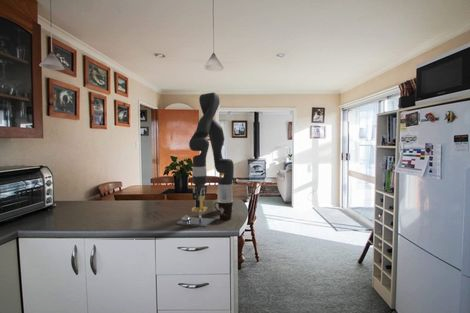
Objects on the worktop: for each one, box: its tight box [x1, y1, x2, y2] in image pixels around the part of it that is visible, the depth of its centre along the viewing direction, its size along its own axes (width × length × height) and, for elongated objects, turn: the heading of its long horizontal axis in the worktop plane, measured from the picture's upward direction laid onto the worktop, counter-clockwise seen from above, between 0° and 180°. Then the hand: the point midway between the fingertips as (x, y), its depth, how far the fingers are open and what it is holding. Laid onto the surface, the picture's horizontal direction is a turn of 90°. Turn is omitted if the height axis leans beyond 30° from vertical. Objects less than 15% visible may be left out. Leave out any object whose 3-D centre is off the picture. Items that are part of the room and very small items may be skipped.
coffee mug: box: [213, 200, 234, 221], centre depth 160 cm, size 12×9×10 cm
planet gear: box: [191, 195, 209, 213], centre depth 150 cm, size 8×8×8 cm
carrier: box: [176, 212, 216, 227], centre depth 151 cm, size 12×17×5 cm
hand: (199, 206), depth 150 cm, fingers closed on planet gear, 5 cm apart
